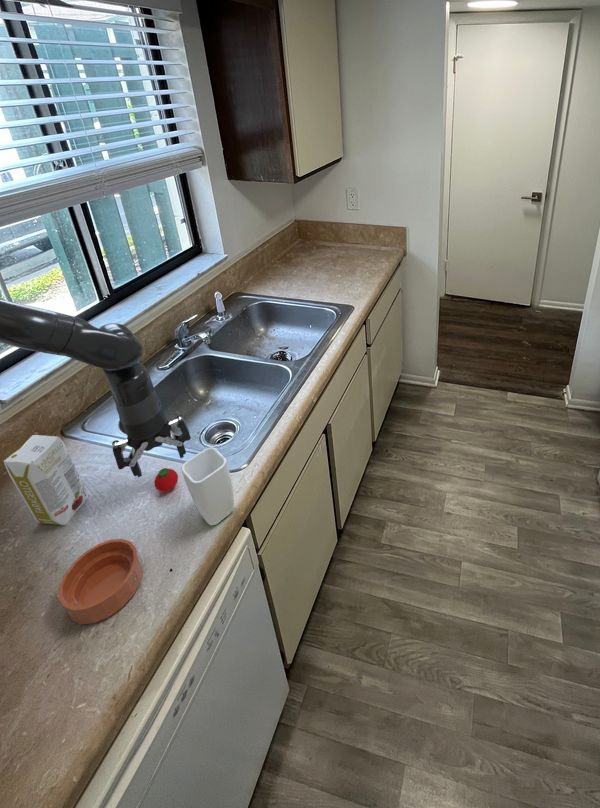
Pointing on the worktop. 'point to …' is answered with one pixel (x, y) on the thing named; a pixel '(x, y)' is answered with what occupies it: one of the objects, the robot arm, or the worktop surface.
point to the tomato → (165, 480)
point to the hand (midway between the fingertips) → (161, 464)
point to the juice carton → (47, 479)
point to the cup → (209, 485)
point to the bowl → (101, 581)
